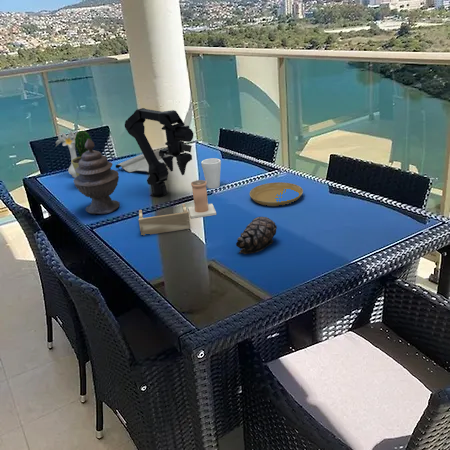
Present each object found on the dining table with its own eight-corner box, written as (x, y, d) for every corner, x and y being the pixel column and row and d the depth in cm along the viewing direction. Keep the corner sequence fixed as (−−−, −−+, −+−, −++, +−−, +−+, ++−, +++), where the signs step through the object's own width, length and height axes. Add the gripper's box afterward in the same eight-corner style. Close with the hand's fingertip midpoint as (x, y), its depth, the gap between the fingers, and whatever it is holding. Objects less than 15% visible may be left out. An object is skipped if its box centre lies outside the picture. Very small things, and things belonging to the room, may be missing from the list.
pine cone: (232, 253, 173) (230, 228, 169) (258, 233, 186) (256, 210, 182) (257, 259, 167) (256, 233, 163) (281, 239, 180) (281, 214, 176)
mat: (148, 176, 264) (147, 167, 262) (116, 172, 275) (114, 164, 273) (173, 163, 281) (172, 155, 280) (142, 160, 293) (140, 152, 291)
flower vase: (98, 172, 275) (90, 129, 265) (69, 182, 263) (59, 137, 253) (86, 169, 283) (78, 127, 273) (58, 178, 272) (48, 134, 262)
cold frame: (140, 218, 209) (137, 203, 206) (185, 212, 212) (184, 197, 209) (141, 235, 193) (138, 219, 190) (190, 228, 195) (188, 212, 192)
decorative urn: (109, 196, 236) (95, 128, 219) (133, 207, 223) (120, 136, 206) (73, 211, 224) (55, 140, 207) (95, 224, 211) (79, 150, 194)
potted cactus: (71, 189, 251) (58, 133, 239) (89, 180, 264) (77, 125, 252) (95, 191, 246) (83, 134, 233) (112, 181, 258) (102, 126, 246)
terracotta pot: (193, 213, 207) (190, 185, 202) (194, 207, 213) (191, 180, 208) (209, 212, 207) (206, 184, 202) (209, 206, 213) (206, 179, 208)
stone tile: (188, 209, 214) (188, 206, 214) (212, 205, 216) (212, 203, 215) (191, 218, 205) (190, 216, 204) (216, 214, 206) (216, 212, 206)
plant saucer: (267, 213, 204) (267, 205, 203) (240, 196, 224) (239, 190, 223) (313, 199, 213) (313, 192, 212) (283, 185, 233) (283, 178, 232)
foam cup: (220, 189, 234) (218, 164, 228) (201, 189, 236) (199, 164, 230) (224, 183, 242) (222, 158, 237) (206, 183, 244) (204, 158, 239)
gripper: (199, 138, 212) (203, 172, 219) (176, 133, 226) (180, 165, 232) (179, 144, 206) (183, 178, 212) (156, 138, 219) (160, 171, 226)
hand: (177, 173), depth 221 cm, fingers open, 9 cm apart
